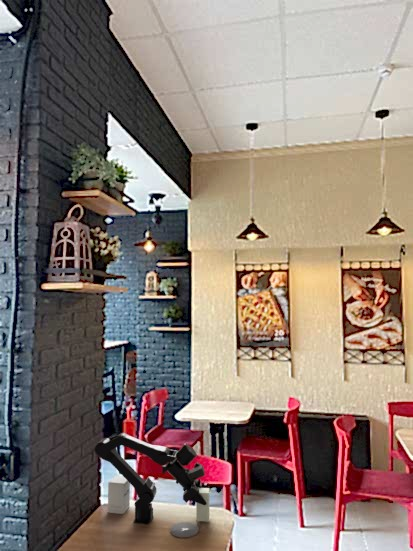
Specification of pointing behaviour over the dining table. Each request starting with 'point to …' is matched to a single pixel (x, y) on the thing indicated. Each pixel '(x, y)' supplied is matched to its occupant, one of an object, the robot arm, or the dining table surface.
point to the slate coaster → (184, 529)
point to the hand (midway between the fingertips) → (206, 501)
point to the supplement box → (118, 495)
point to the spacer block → (203, 506)
